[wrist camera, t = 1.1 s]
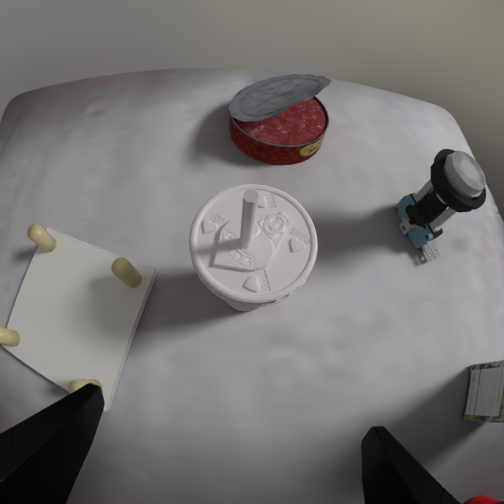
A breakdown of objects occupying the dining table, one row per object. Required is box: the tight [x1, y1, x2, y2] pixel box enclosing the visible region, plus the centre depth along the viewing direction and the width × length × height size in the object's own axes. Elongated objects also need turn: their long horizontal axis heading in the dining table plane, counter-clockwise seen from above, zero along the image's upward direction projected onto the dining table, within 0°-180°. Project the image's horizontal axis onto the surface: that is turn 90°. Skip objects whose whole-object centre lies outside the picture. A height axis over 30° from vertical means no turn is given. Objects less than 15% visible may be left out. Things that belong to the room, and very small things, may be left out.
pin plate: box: [0, 223, 158, 412], centre depth 20 cm, size 12×12×4 cm
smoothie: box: [189, 184, 318, 312], centre depth 17 cm, size 6×6×14 cm
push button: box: [394, 149, 486, 261], centre depth 22 cm, size 7×5×10 cm
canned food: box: [228, 74, 331, 165], centre depth 27 cm, size 11×10×10 cm
